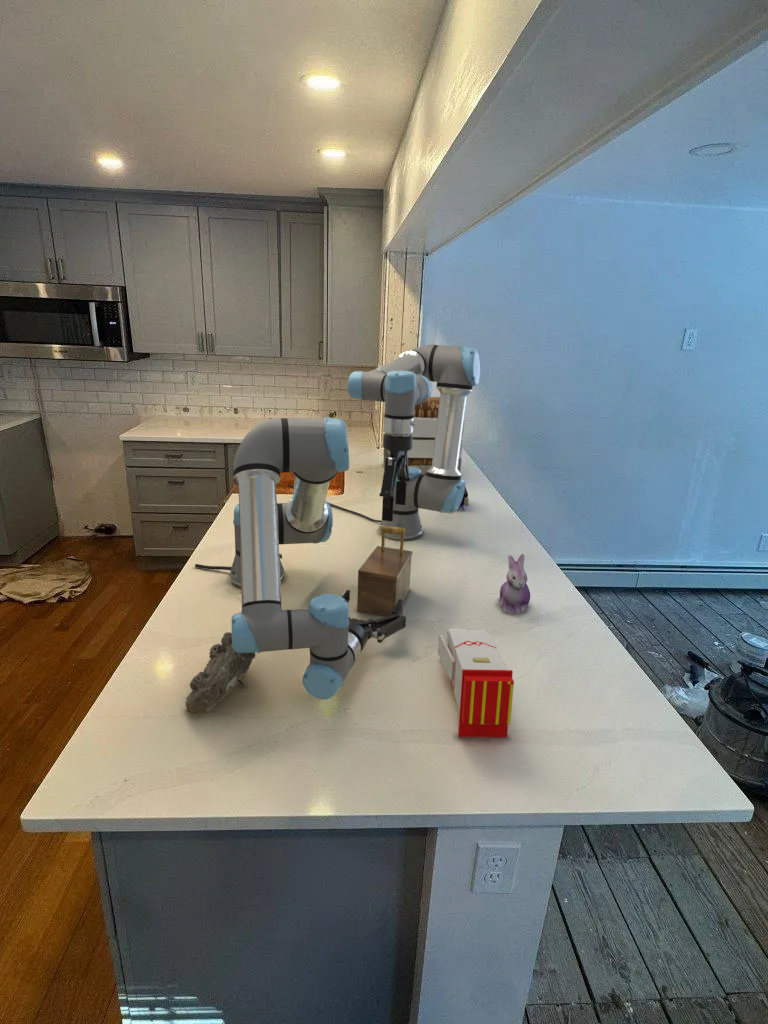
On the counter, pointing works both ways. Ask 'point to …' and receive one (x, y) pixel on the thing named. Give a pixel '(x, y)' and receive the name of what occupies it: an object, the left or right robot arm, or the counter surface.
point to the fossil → (218, 676)
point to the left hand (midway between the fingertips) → (374, 599)
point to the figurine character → (464, 499)
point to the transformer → (425, 434)
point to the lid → (387, 558)
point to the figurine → (515, 588)
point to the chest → (382, 592)
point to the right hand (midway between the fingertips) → (394, 512)
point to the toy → (478, 682)
